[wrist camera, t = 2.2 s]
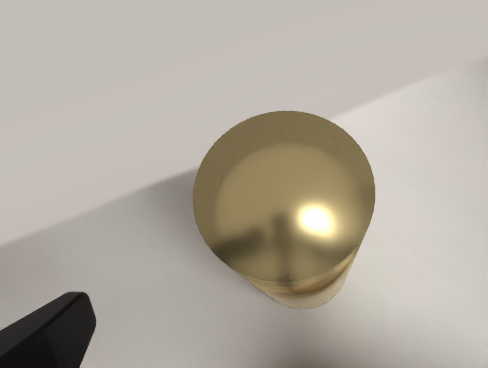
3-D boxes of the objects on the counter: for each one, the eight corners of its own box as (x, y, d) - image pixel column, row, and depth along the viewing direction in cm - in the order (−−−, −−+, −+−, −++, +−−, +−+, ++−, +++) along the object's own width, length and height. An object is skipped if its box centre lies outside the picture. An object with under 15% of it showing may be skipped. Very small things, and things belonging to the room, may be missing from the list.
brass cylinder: (327, 326, 17) (333, 317, 8) (240, 284, 19) (162, 235, 9) (361, 237, 18) (401, 141, 9) (277, 204, 20) (239, 92, 11)
